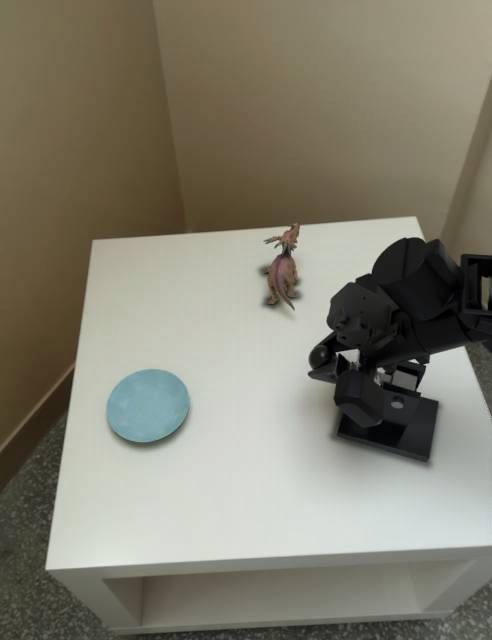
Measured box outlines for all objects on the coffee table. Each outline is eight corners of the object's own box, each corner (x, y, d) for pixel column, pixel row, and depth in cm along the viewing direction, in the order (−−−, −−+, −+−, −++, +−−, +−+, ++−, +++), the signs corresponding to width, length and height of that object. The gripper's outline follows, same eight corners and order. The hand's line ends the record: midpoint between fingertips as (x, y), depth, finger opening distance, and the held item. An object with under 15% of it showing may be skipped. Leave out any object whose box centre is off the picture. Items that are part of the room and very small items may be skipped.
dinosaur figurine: (263, 257, 92) (263, 215, 84) (298, 257, 91) (300, 215, 83) (261, 319, 84) (261, 280, 76) (299, 320, 84) (302, 280, 76)
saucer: (94, 429, 75) (89, 422, 73) (136, 365, 81) (133, 357, 79) (165, 461, 72) (163, 455, 70) (205, 392, 77) (203, 384, 76)
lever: (302, 373, 67) (307, 358, 64) (310, 351, 69) (315, 335, 66) (405, 407, 65) (415, 393, 62) (410, 383, 67) (420, 369, 64)
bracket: (336, 436, 72) (346, 394, 63) (351, 382, 77) (362, 336, 67) (426, 462, 69) (451, 423, 60) (436, 405, 74) (461, 360, 64)
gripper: (392, 220, 58) (286, 272, 69) (372, 359, 48) (252, 393, 59) (444, 281, 63) (338, 320, 74) (435, 418, 53) (314, 438, 65)
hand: (312, 363), depth 68 cm, fingers closed on lever, 3 cm apart
